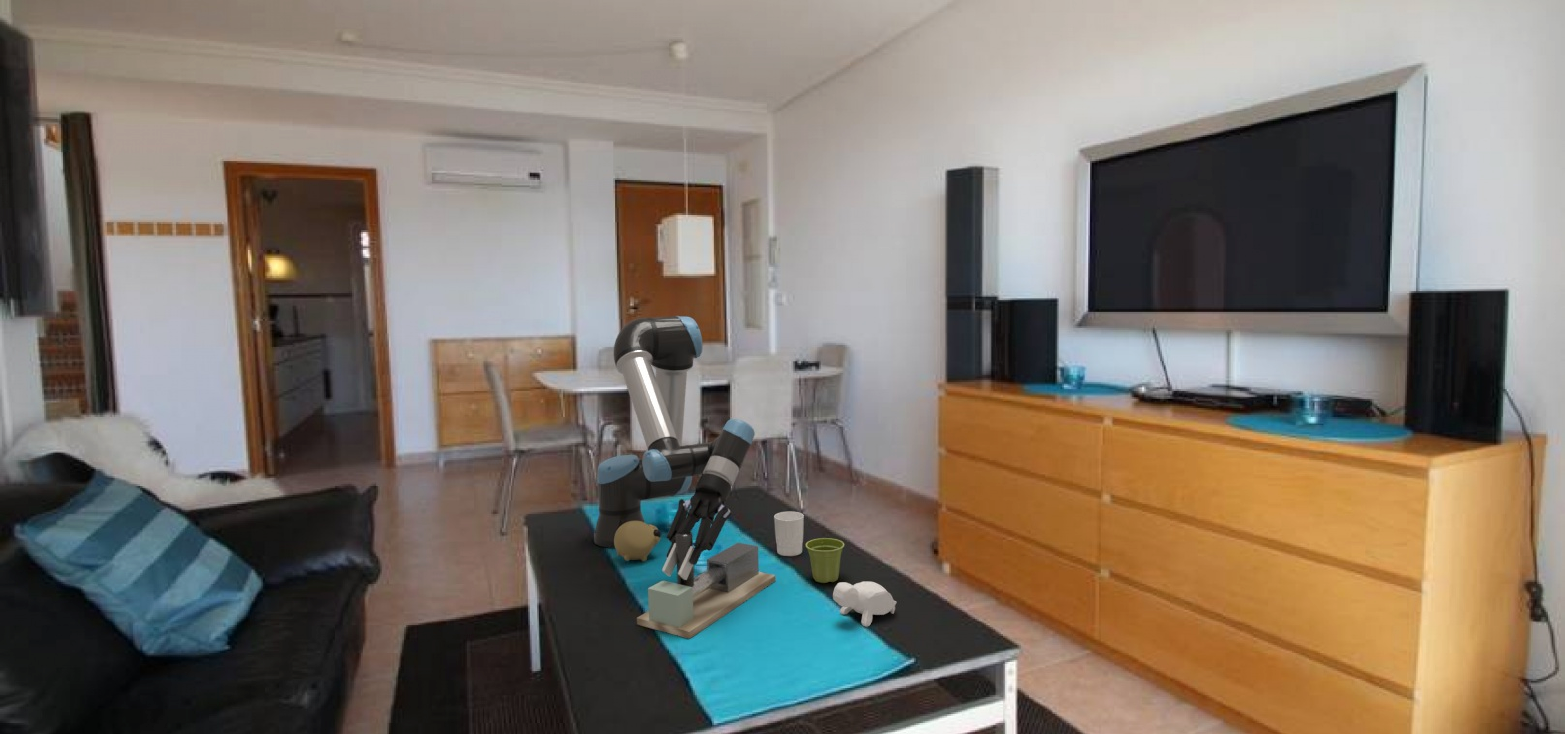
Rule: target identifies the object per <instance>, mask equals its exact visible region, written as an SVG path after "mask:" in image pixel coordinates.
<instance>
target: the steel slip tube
mask: <svg viewBox="0 0 1565 734" xmlns="http://www.w3.org/2000/svg"><path fill="white" fill-rule="evenodd" d="M693 539H694V538H693V532H692V531H691V532H689V531H682V532H678V533H676V558H677V564H676V578H677V579H676V580H677V582H676V584H680V585H685V586H689V587H692V591H693V597H695V596H697V595H698V594H700V593H702V592H703V591H705V590H707V589H708V588H710V587H712V586H713V585H715V584H717V583H718V582H720V581H722V580H723V579H725V578H726V568H725V566H724V565H719V564H718V565H716V566H714V567H712V568H711V569H709V570H707V569H706V570H705V571H704V572H702V573H700V574H698V575H697V576H695V569H694V567H695V565H693V567H692V569H691V571H690V573H689V576H688V578H687V580H684V579H683V578H682V577H681V576H679V575H678V572H679V570H680V568H681V566H682V563H683V561H684V559H685V557H686V555H687V552H688V550H689V548H690V546H693V547H694V545H693V543H694V542H693V541H694V540H693Z"/></svg>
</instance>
